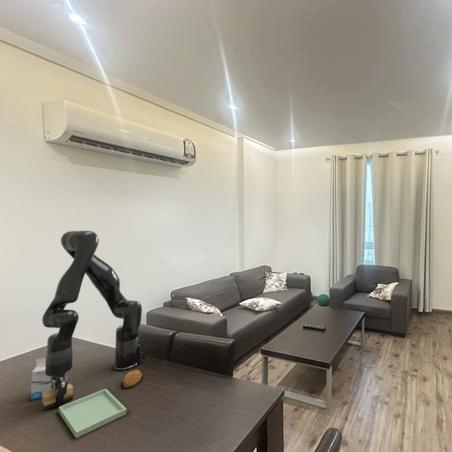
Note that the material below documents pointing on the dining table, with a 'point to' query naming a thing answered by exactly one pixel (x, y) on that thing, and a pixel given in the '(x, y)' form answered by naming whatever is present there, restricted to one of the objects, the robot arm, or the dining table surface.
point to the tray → (91, 412)
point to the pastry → (132, 378)
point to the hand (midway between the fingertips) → (58, 401)
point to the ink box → (40, 380)
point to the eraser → (50, 397)
